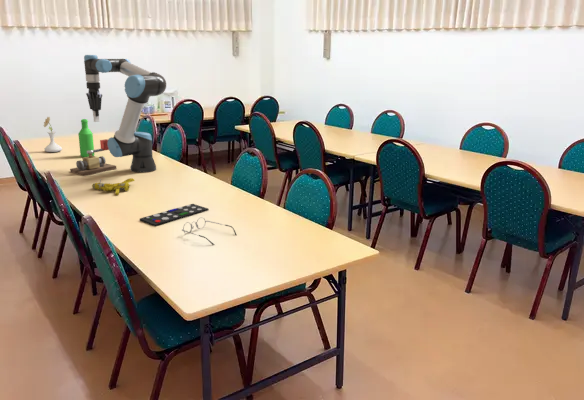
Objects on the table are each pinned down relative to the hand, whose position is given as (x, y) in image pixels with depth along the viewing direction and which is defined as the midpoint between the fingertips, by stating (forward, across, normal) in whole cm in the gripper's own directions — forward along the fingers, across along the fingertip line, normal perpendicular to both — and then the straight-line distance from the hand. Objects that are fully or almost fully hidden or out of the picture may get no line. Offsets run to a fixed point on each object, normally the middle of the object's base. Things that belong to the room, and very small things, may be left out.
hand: (96, 121), depth 305 cm
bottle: (+28, +32, -12) cm, 44 cm away
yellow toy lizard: (+29, -48, +26) cm, 62 cm away
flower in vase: (+28, +62, -5) cm, 68 cm away
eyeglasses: (+30, -135, +42) cm, 145 cm away
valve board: (+28, -6, +9) cm, 30 cm away
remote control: (+30, -106, +34) cm, 115 cm away
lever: (+17, -7, +5) cm, 19 cm away
